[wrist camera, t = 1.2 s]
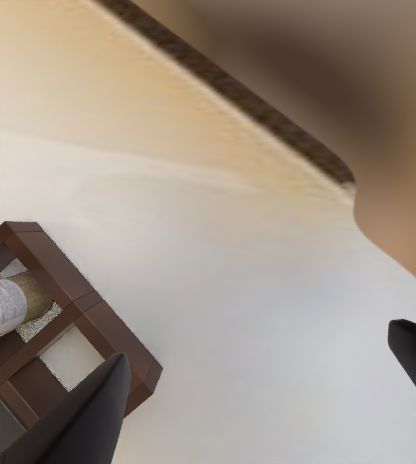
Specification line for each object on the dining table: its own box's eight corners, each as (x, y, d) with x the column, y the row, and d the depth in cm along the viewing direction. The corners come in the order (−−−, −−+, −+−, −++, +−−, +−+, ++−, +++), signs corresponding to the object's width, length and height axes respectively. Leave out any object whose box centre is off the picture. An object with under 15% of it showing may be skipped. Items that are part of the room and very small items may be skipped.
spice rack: (163, 368, 23) (153, 393, 19) (87, 432, 23) (64, 469, 20) (36, 221, 23) (4, 220, 19) (-37, 288, 23) (-82, 299, 20)
